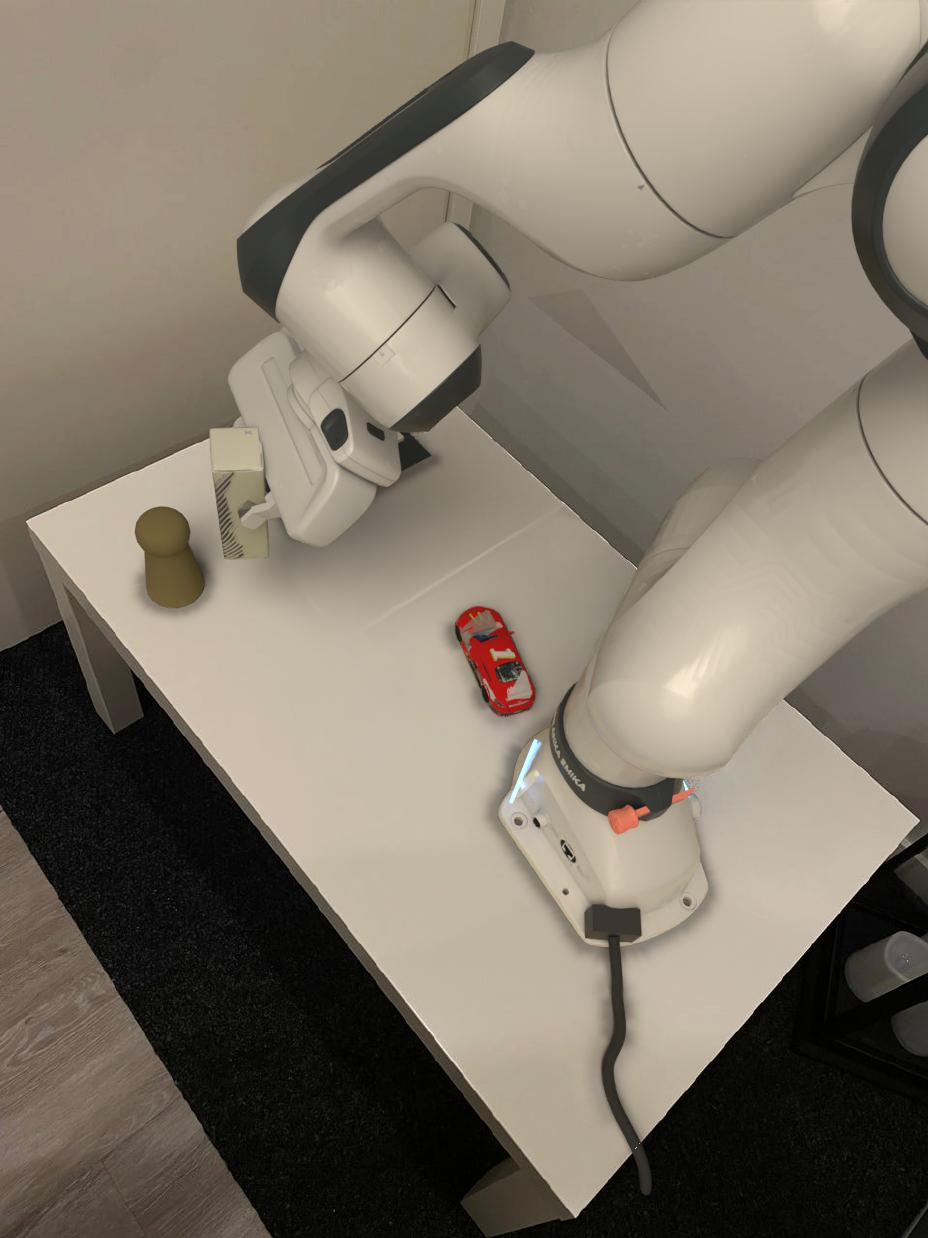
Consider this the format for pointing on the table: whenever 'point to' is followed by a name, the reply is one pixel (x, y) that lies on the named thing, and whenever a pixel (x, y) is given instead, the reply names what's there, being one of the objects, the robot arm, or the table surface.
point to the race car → (495, 661)
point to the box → (239, 489)
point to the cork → (168, 558)
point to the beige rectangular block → (400, 437)
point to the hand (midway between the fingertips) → (234, 493)
